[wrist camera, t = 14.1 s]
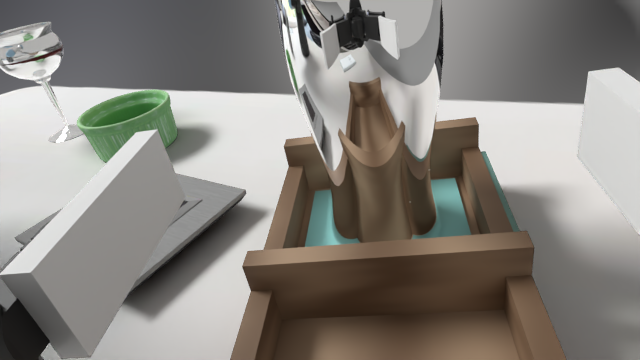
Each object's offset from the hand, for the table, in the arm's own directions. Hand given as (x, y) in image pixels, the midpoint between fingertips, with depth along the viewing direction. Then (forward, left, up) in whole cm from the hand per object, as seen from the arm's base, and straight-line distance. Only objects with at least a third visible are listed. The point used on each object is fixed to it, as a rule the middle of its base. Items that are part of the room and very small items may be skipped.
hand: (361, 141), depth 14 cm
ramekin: (-25, +27, -11) cm, 38 cm away
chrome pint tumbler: (0, +8, -10) cm, 12 cm away
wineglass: (-37, +33, -11) cm, 51 cm away
